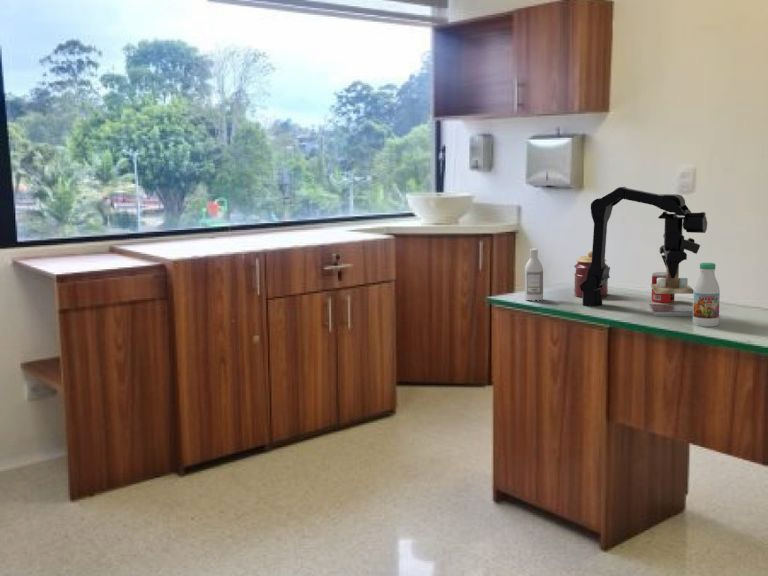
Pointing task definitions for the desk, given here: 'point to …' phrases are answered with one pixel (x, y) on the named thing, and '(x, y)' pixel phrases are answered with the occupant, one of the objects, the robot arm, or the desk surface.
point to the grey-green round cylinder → (682, 282)
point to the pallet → (672, 290)
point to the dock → (671, 309)
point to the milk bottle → (706, 297)
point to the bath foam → (534, 277)
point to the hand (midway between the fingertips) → (671, 277)
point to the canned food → (660, 297)
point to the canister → (585, 275)
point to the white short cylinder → (661, 282)
